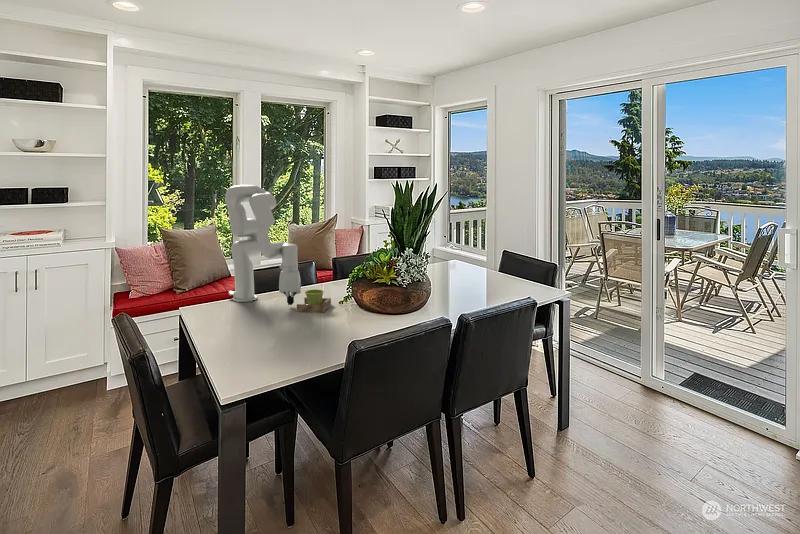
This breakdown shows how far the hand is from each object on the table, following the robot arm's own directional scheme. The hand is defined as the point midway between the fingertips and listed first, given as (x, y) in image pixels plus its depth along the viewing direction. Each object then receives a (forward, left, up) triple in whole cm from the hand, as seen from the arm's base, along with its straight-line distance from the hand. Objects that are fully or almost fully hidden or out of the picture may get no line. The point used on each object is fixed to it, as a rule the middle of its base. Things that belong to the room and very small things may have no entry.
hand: (290, 304), depth 244 cm
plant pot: (+13, 0, -2) cm, 13 cm away
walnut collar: (+12, 0, -2) cm, 12 cm away
